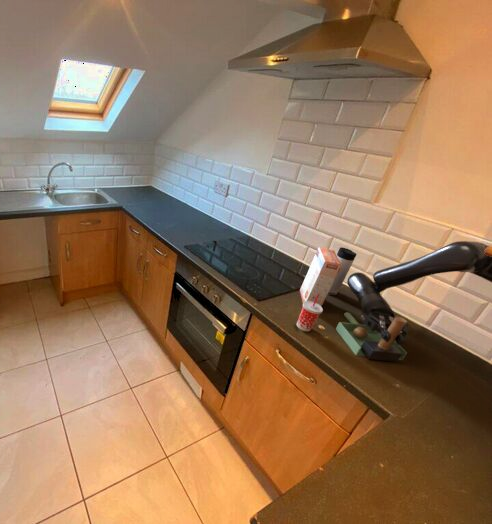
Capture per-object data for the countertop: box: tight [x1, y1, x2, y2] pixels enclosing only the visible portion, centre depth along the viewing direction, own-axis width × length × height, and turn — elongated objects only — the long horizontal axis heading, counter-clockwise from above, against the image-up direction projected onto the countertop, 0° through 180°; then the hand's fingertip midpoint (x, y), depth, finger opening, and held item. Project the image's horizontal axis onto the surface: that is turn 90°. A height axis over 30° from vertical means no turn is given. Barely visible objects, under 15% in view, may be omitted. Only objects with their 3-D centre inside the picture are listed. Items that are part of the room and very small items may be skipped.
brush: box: [361, 316, 408, 363], centre depth 92 cm, size 9×4×14 cm, turn 88°
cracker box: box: [299, 246, 342, 307], centre depth 115 cm, size 14×6×21 cm, turn 160°
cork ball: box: [353, 327, 368, 339], centre depth 101 cm, size 4×4×4 cm
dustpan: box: [335, 312, 408, 361], centre depth 103 cm, size 20×15×3 cm
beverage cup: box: [296, 294, 324, 332], centre depth 101 cm, size 6×6×14 cm
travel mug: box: [327, 246, 357, 296], centre depth 124 cm, size 6×7×20 cm
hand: (394, 340), depth 89 cm, fingers closed on brush, 3 cm apart
